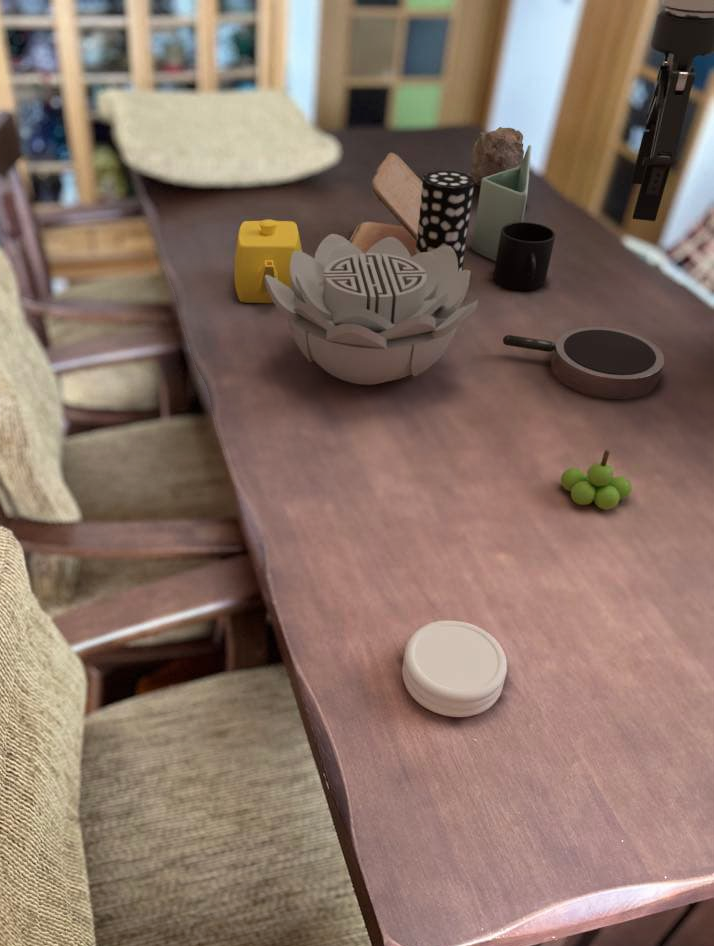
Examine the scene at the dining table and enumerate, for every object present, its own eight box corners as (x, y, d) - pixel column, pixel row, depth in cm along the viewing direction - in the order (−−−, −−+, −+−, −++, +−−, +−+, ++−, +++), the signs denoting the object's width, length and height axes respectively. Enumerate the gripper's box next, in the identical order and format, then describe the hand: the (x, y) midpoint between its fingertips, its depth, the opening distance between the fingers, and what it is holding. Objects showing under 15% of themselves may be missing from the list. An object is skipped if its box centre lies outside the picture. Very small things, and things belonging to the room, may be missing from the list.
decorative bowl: (264, 321, 138) (262, 233, 128) (438, 318, 140) (450, 230, 130) (270, 422, 116) (268, 324, 106) (478, 416, 118) (495, 319, 108)
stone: (532, 213, 177) (546, 138, 167) (488, 215, 176) (500, 140, 166) (499, 178, 193) (510, 108, 183) (458, 180, 192) (467, 109, 182)
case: (445, 281, 151) (456, 192, 140) (334, 267, 155) (337, 179, 144) (460, 239, 166) (472, 155, 155) (359, 227, 170) (363, 145, 159)
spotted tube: (465, 291, 148) (482, 176, 134) (446, 309, 142) (462, 191, 129) (423, 281, 151) (435, 167, 138) (403, 298, 146) (414, 181, 132)
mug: (501, 298, 146) (510, 248, 140) (488, 269, 155) (496, 221, 149) (554, 298, 146) (565, 248, 140) (538, 269, 155) (548, 221, 149)
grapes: (628, 492, 105) (645, 444, 100) (627, 518, 101) (644, 470, 96) (559, 479, 107) (572, 431, 102) (556, 505, 103) (569, 456, 98)
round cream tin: (502, 727, 78) (508, 704, 76) (397, 711, 79) (400, 688, 77) (502, 647, 85) (507, 625, 83) (406, 634, 86) (409, 611, 84)
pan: (657, 355, 131) (664, 335, 129) (657, 407, 120) (665, 385, 118) (506, 332, 137) (510, 312, 134) (493, 380, 125) (497, 359, 123)
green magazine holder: (471, 233, 168) (486, 129, 155) (510, 236, 167) (528, 131, 154) (471, 266, 156) (488, 156, 143) (514, 269, 155) (534, 159, 142)
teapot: (304, 315, 140) (305, 247, 132) (232, 315, 140) (228, 247, 132) (303, 266, 155) (303, 203, 147) (237, 266, 155) (234, 202, 147)
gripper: (655, -8, 104) (613, 168, 118) (663, 30, 86) (612, 232, 100) (718, -5, 102) (667, 173, 116) (740, 34, 84) (677, 239, 98)
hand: (642, 200), depth 108 cm, fingers open, 13 cm apart
